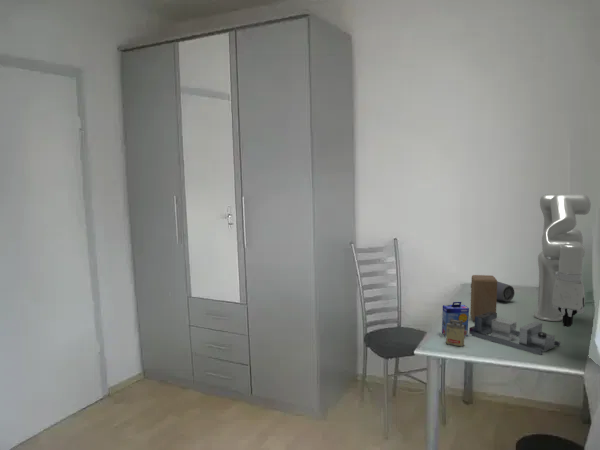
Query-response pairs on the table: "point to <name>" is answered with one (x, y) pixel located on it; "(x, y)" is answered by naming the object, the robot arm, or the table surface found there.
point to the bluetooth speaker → (504, 292)
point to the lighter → (455, 333)
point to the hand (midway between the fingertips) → (567, 326)
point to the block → (483, 295)
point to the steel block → (503, 329)
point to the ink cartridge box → (455, 316)
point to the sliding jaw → (536, 337)
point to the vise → (484, 327)
